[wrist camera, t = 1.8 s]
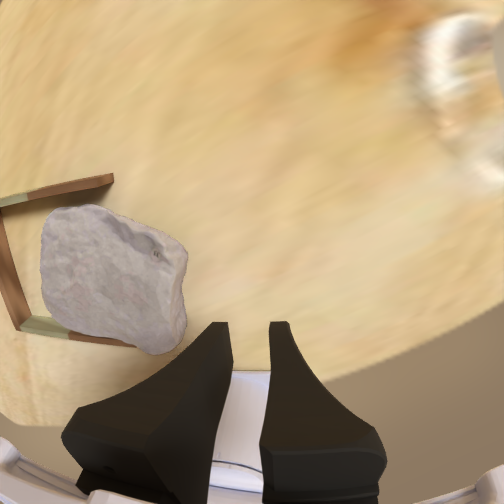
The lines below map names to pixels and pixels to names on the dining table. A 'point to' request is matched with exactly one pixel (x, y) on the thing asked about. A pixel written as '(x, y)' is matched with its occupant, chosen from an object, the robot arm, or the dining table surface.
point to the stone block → (113, 277)
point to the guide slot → (6, 280)
